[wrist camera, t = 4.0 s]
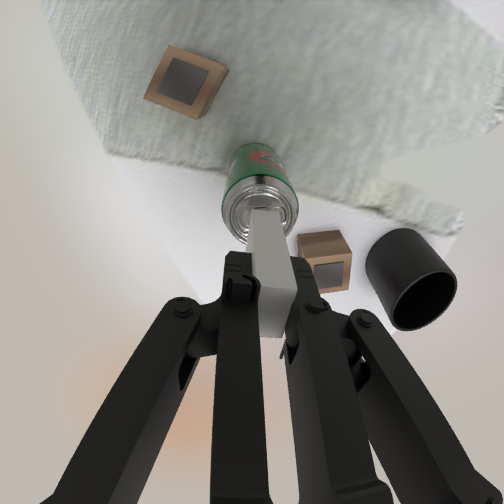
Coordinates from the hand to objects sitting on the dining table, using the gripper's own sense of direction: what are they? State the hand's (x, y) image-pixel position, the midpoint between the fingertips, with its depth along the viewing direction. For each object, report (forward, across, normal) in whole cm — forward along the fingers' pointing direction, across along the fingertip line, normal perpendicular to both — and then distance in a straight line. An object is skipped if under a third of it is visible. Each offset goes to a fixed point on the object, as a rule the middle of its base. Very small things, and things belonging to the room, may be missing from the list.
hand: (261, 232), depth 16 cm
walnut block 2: (+14, +9, -9) cm, 19 cm away
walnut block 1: (+14, -7, +8) cm, 17 cm away
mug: (+14, +21, -10) cm, 27 cm away
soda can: (+14, 0, 0) cm, 14 cm away
